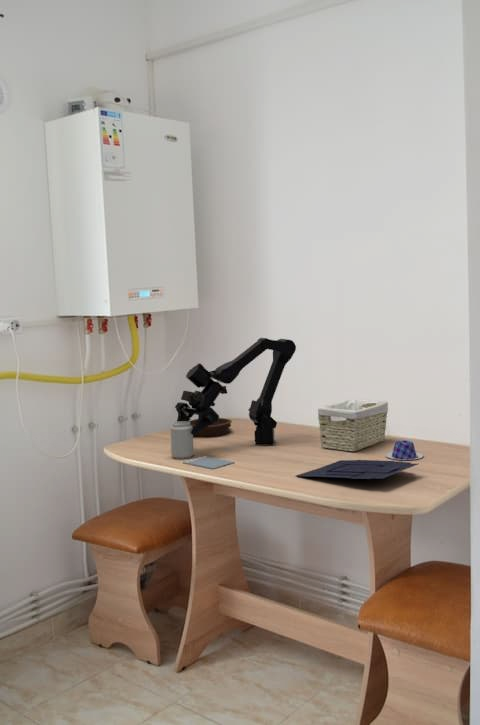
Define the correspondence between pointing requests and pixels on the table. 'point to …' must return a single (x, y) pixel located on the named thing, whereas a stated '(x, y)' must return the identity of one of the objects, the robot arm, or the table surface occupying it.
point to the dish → (213, 428)
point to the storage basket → (352, 424)
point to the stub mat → (208, 462)
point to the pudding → (404, 451)
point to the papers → (360, 469)
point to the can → (181, 440)
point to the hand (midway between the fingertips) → (183, 432)
